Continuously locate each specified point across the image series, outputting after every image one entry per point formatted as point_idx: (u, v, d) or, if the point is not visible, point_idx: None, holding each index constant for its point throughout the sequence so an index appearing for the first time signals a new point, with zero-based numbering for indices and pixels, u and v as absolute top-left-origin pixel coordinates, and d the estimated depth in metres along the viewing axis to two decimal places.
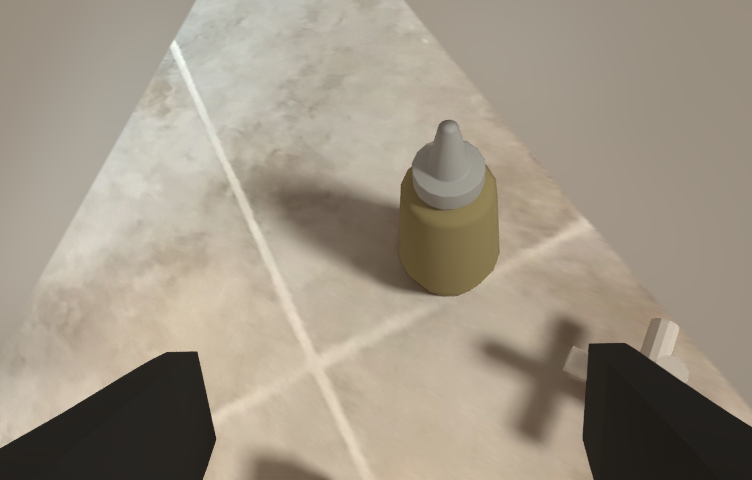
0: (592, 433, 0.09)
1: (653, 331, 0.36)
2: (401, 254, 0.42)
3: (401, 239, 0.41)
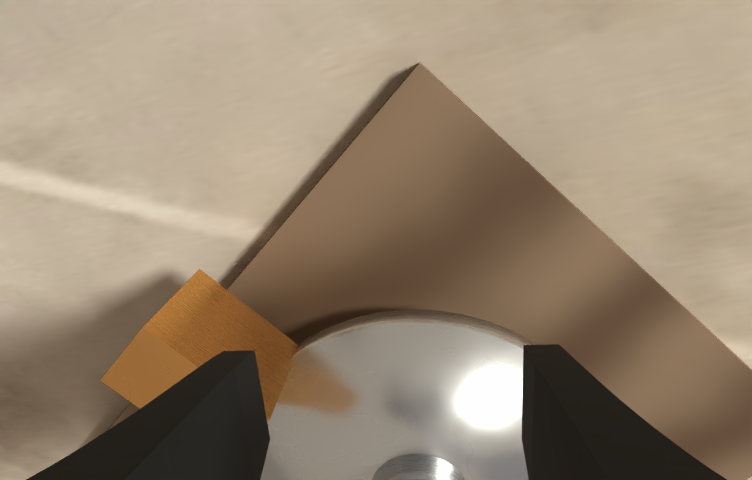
0: (527, 433, 0.09)
1: None
2: None
3: None
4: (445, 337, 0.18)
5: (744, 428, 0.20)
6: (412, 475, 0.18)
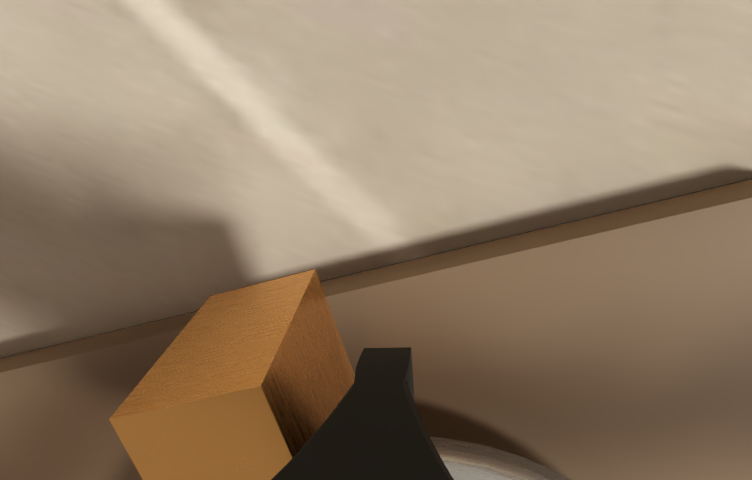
0: None
1: None
2: None
3: None
4: None
5: None
6: None
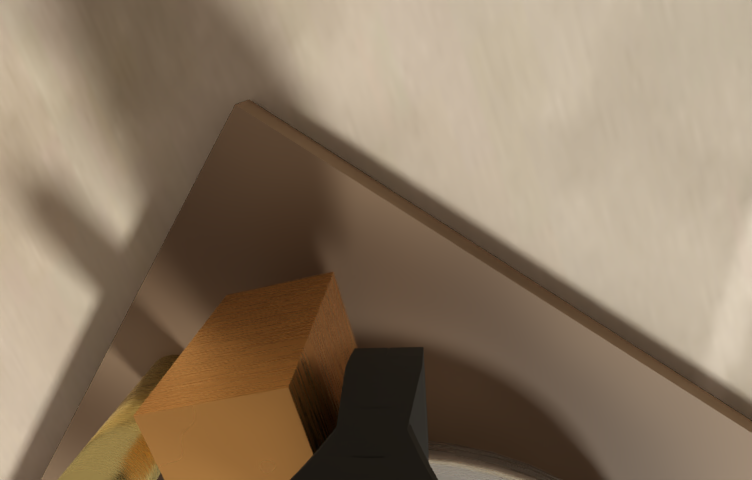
0: None
1: None
2: None
3: None
4: None
5: None
6: None
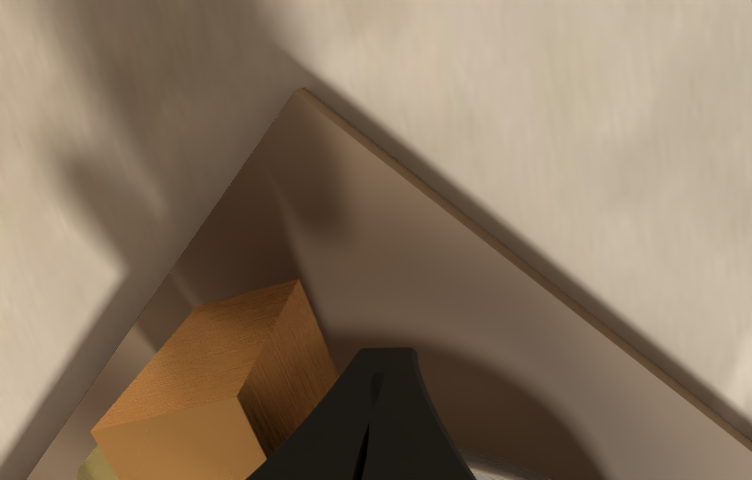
0: None
1: None
2: None
3: None
4: None
5: None
6: None
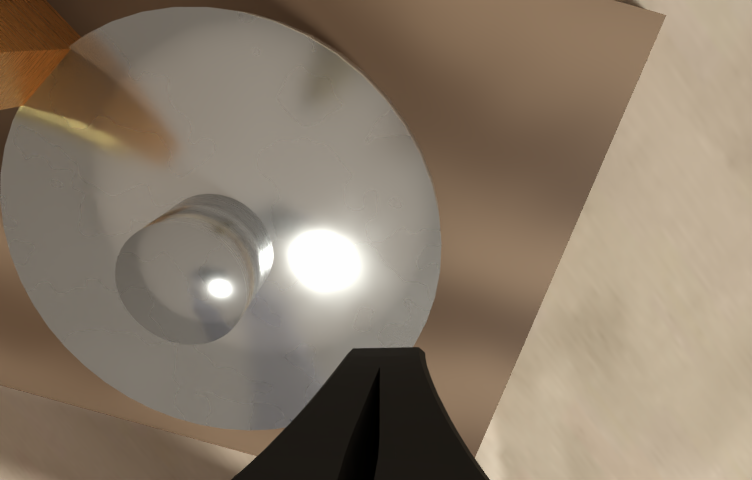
0: None
1: None
2: None
3: None
4: (250, 31, 0.15)
5: None
6: (197, 203, 0.15)
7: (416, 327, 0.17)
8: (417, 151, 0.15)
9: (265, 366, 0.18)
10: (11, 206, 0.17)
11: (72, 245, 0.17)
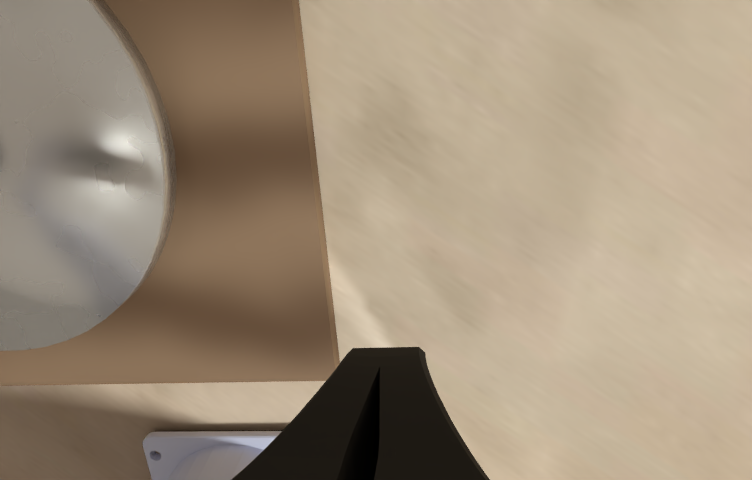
0: None
1: None
2: None
3: None
4: None
5: (287, 335, 0.21)
6: None
7: (154, 166, 0.16)
8: None
9: (45, 264, 0.18)
10: None
11: None
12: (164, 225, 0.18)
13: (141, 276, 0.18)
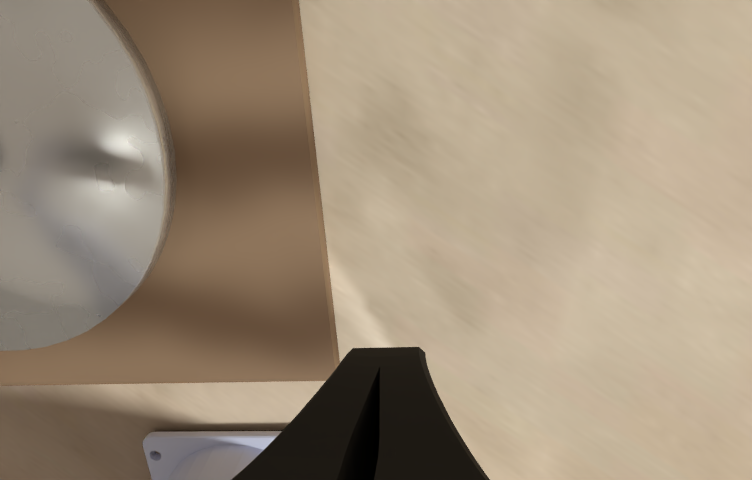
0: None
1: None
2: None
3: None
4: None
5: (287, 335, 0.21)
6: None
7: (154, 166, 0.16)
8: None
9: (45, 264, 0.18)
10: None
11: None
12: (164, 225, 0.18)
13: (141, 276, 0.18)
